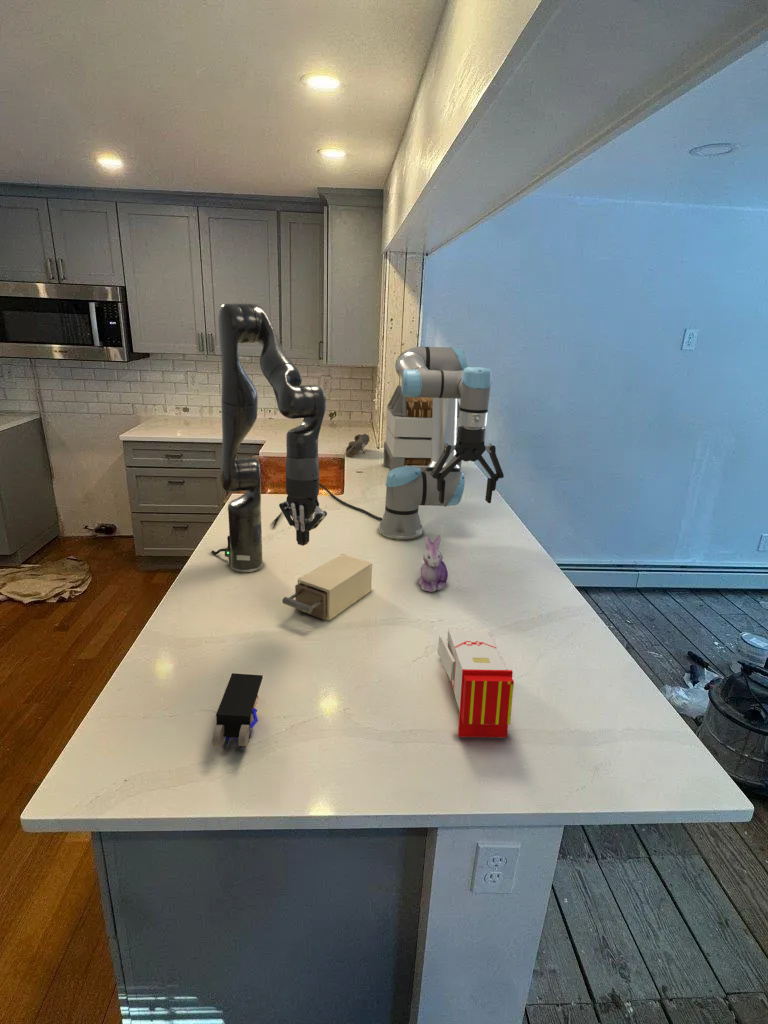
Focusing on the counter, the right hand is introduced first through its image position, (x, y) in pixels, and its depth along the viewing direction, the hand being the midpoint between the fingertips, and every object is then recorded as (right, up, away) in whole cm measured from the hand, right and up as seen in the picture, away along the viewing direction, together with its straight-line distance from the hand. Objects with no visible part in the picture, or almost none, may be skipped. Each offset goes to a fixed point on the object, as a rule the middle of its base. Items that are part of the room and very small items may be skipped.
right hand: (464, 501), depth 159 cm
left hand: (-42, -11, -24) cm, 50 cm away
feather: (-61, -4, +53) cm, 81 cm away
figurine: (-9, -24, +4) cm, 26 cm away
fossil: (-37, +29, +148) cm, 155 cm away
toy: (-5, -41, -41) cm, 57 cm away
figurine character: (-49, -43, -54) cm, 85 cm away
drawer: (-38, -27, -10) cm, 48 cm away
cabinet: (-36, -27, -6) cm, 45 cm away
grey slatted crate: (-5, +16, +116) cm, 117 cm away
